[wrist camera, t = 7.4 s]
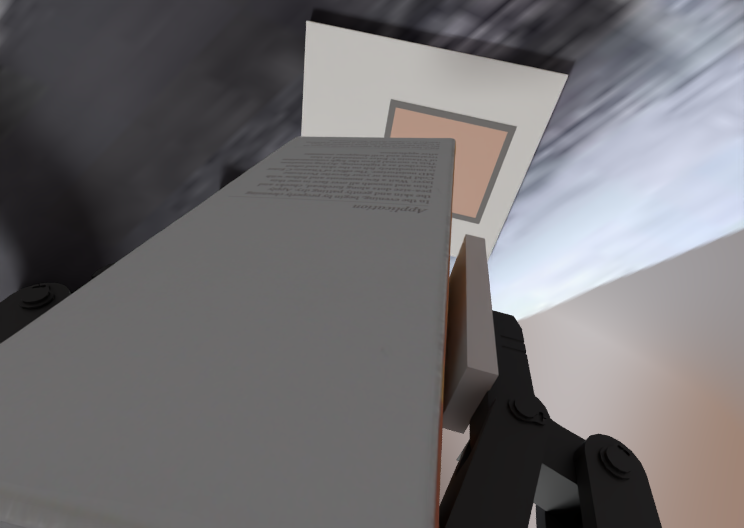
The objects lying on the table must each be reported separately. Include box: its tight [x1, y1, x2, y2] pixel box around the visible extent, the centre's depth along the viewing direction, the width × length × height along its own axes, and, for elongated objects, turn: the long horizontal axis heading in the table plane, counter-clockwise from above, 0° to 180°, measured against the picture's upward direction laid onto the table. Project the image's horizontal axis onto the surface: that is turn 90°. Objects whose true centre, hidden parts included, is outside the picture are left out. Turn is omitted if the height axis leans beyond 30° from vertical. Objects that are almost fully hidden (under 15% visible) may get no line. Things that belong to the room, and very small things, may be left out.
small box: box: [0, 136, 456, 528], centre depth 10 cm, size 8×6×13 cm
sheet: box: [301, 21, 568, 261], centre depth 24 cm, size 15×13×1 cm
